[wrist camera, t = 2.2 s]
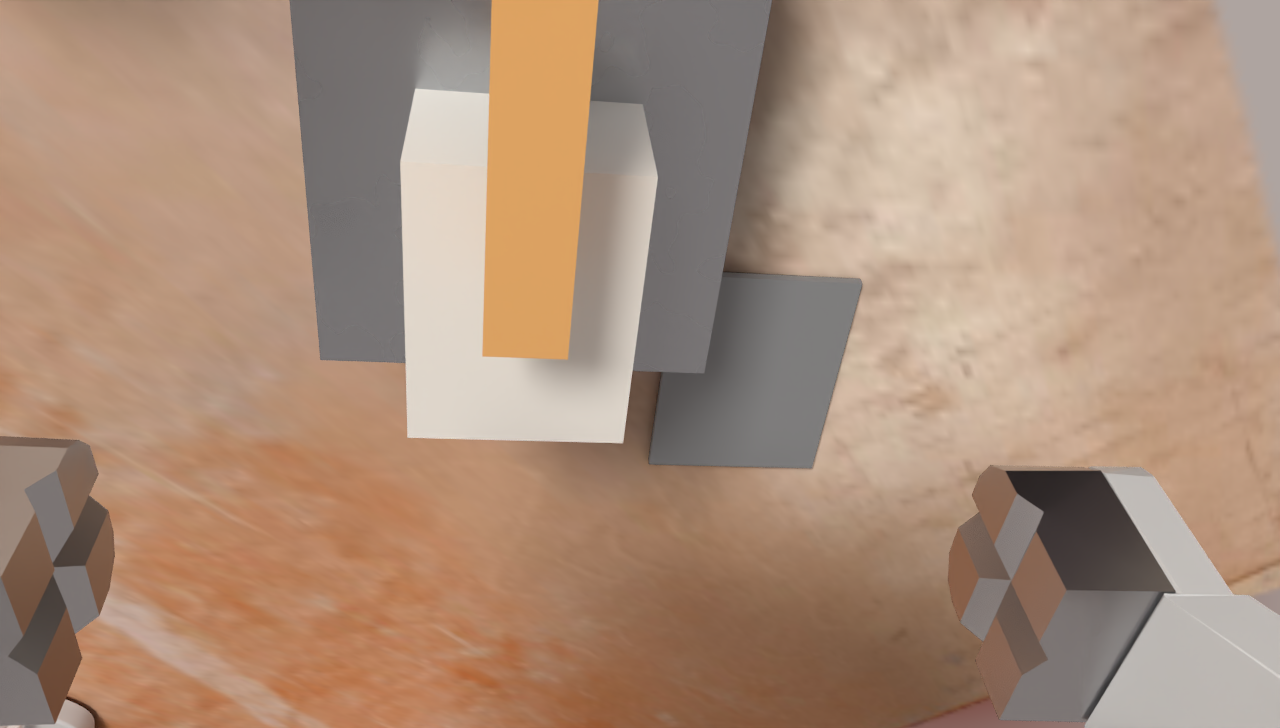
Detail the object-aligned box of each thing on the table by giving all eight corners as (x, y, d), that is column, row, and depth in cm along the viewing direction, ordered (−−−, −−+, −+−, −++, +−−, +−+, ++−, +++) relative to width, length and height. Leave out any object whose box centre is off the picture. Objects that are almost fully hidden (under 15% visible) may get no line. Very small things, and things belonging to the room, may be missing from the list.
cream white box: (613, 355, 28) (623, 442, 25) (419, 348, 28) (407, 437, 25) (642, 104, 24) (658, 177, 21) (414, 88, 23) (400, 161, 21)
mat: (809, 462, 39) (811, 468, 39) (648, 458, 39) (648, 464, 38) (860, 278, 35) (862, 283, 34) (677, 269, 34) (677, 275, 34)
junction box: (679, 256, 34) (704, 373, 29) (350, 240, 32) (320, 359, 27) (749, -207, 26) (799, -151, 21) (321, -254, 25) (272, -205, 20)
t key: (559, 199, 25) (568, 359, 20) (491, 195, 25) (482, 356, 20) (586, -173, 21) (605, -83, 16) (502, -181, 20) (494, -93, 15)
